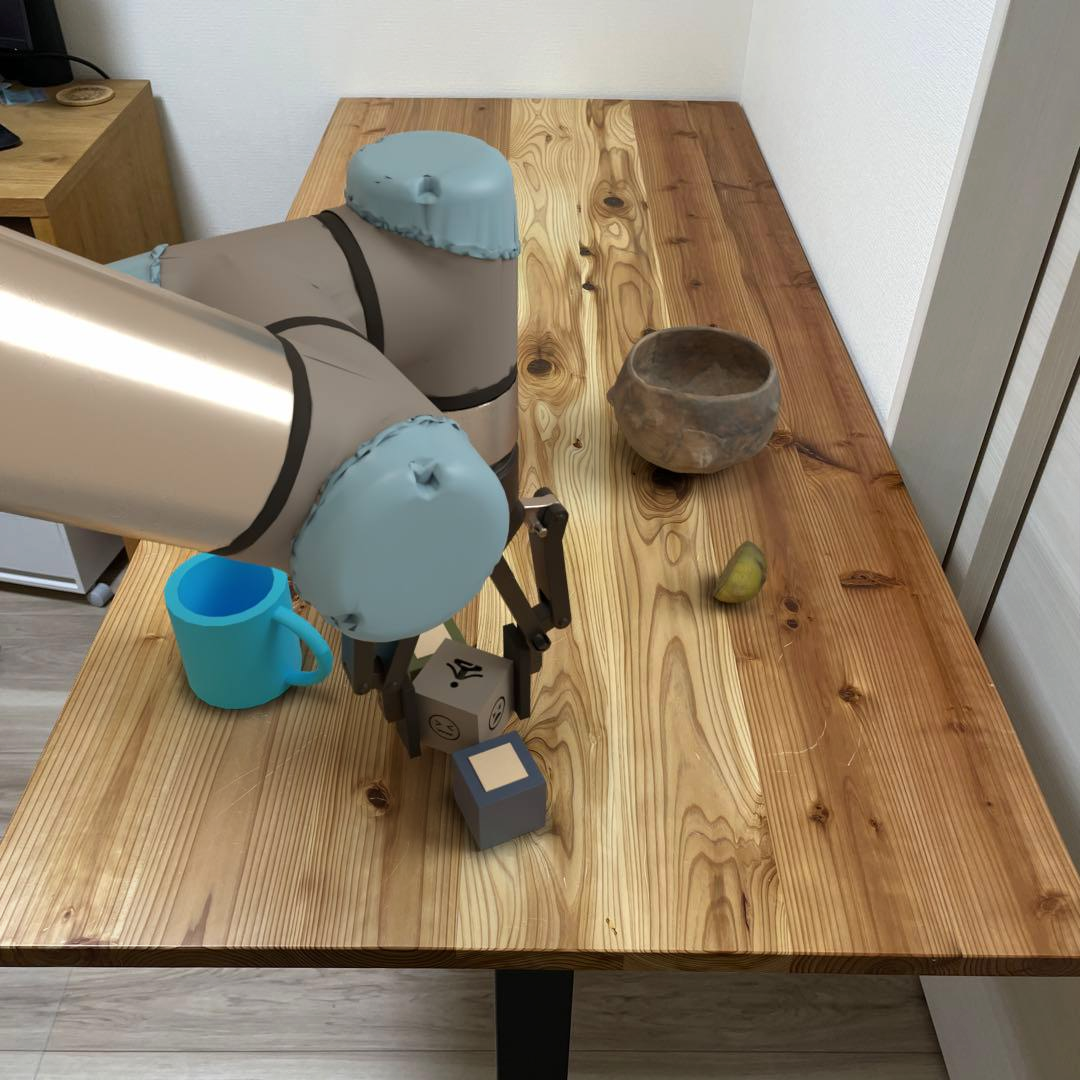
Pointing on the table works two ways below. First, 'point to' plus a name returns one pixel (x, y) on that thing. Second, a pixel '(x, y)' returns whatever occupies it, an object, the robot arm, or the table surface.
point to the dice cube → (463, 696)
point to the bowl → (696, 398)
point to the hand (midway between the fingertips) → (464, 722)
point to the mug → (240, 632)
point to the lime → (742, 575)
